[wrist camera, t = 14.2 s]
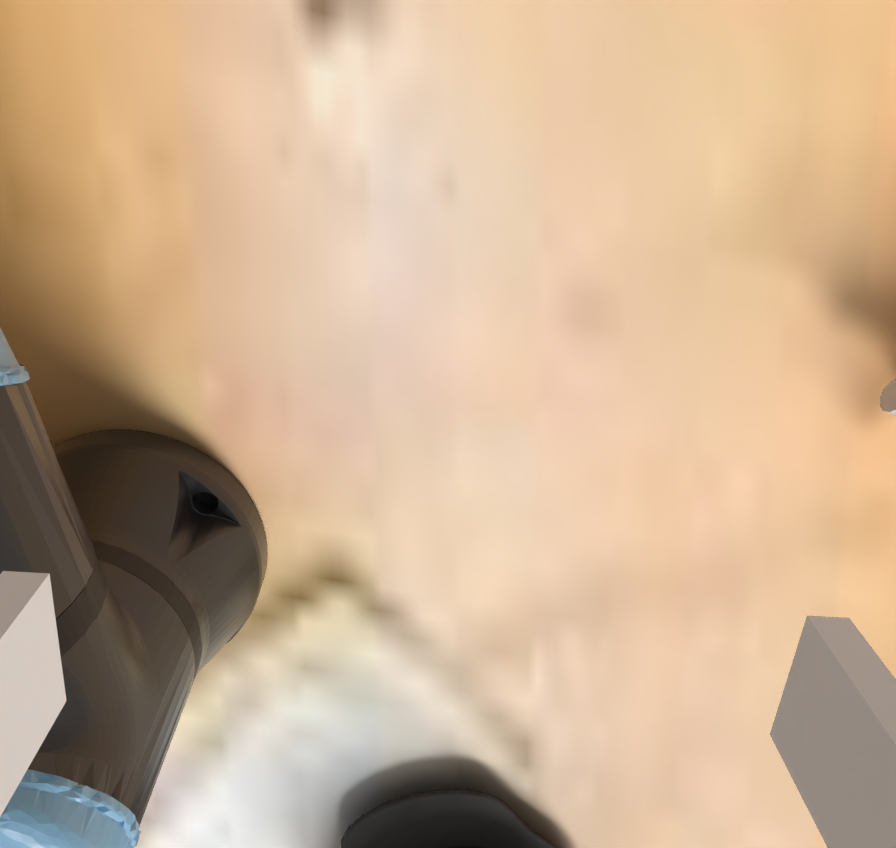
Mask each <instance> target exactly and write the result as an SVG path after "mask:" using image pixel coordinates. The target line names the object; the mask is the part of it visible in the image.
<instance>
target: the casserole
mask: <svg viewBox="0 0 896 848" xmlns="http://www.w3.org/2000/svg"><path fill="white" fill-rule="evenodd" d="M341 844H342V848H557V847H556V846H554V845H553V844H551V843H550V842H548V841H547V840H545V839H544V838H542V837H541V836H540V835H538V834H537V833H535V832H534V831H532V830H531V829H529V828H528V827H527V825H526V824H525V823H524V822H523V821H522V820H521V819H520V818H519V817H518V816H517V815H516V814H515V813H514V812H513V811H512V810H511V809H510V808H509V807H508V806H507V805H506V804H505V803H504V802H503V801H502V800H500V799H498V798H495V797H493V796H490V795H488V794H485V793H483V792H476V791H468V790H438V791H430V792H424V793H419V794H413V795H408V796H405V797H402V798H399V799H396V800H393V801H391V802H388V803H385V804H383V805H381V806H379V807H377V808H375V809H373V810H371V811H369V812H368V813H366V814H364V815H362V816H361V817H360V818H359V819H358V820H356V821H355V822H354V823H353V824H351V825H350V826H349V827H348V829H347V831H346V833H345V835H344V837H343V839H342V840H341Z"/></svg>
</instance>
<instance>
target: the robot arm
mask: <svg viewBox="0 0 896 848" xmlns="http://www.w3.org/2000/svg"><path fill="white" fill-rule="evenodd" d="M29 379H30V377H29V374H28V371H27V370H26V368H25V366H23V365H21V364H19V363H18V362H17V360H16V358H15V356H14V354H13V352H12V350H11V348H10V346H9V344H8V341H7V339H6V337H5V335H4V333H3V331H2V329H1V327H0V848H135V847H136V845H137V843H138V839H139V834H140V831H139V830H138V829H139V827H140V823H141V820H142V817H143V815H144V812H145V809H146V807H147V804H148V802H149V799H150V796H151V794H152V791H153V788H154V786H155V783H156V780H157V778H158V775H159V772H160V770H161V767H162V764H163V762H164V759H165V756H166V754H167V751H168V748H169V746H170V743H171V740H172V738H173V735H174V732H175V730H176V727H177V724H178V722H179V719H180V716H181V714H182V711H183V708H184V706H185V703H186V700H187V698H188V695H189V693H190V689H191V687H192V684H193V681H194V679H195V676H196V674H197V673H198V672H199V671H200V670H201V669H202V668H203V667H204V666H205V665H206V664H207V663H208V662H209V661H210V660H211V659H212V658H213V657H214V656H215V655H216V654H217V653H218V651H219V650H220V649H221V648H222V647H223V646H224V645H225V644H226V643H228V642H229V641H230V640H231V639H232V638H233V637H234V636H235V635H236V634H237V633H238V632H239V630H240V629H241V628H242V627H243V625H244V624H245V622H246V621H247V619H248V617H249V616H250V614H251V612H252V610H253V608H254V606H255V604H256V601H257V598H258V595H259V592H260V589H261V586H262V583H263V580H264V577H265V572H266V567H267V541H266V535H265V531H264V527H263V524H262V521H261V518H260V516H259V513H258V511H257V509H256V507H255V505H254V503H253V502H252V500H251V498H250V497H249V495H248V494H247V493H246V491H245V490H244V488H243V487H242V486H241V485H240V484H239V482H238V481H237V480H236V479H235V478H234V477H233V476H232V475H231V474H230V473H229V472H228V471H227V470H226V469H225V468H223V467H222V466H221V465H220V464H218V463H217V462H216V461H214V460H213V459H211V458H210V457H209V456H207V455H205V454H204V453H202V452H200V451H199V450H197V449H195V448H193V447H191V446H189V445H187V444H184V443H182V442H180V441H177V440H174V439H172V438H168V437H165V436H162V435H158V434H153V433H148V432H142V431H133V430H108V431H99V432H94V433H89V434H85V435H81V436H78V437H75V438H72V439H70V440H67V441H65V442H63V443H61V444H59V445H57V446H55V447H54V448H53V447H52V445H51V442H50V440H49V437H48V435H47V432H46V430H45V427H44V425H43V422H42V419H41V417H40V414H39V412H38V409H37V407H36V404H35V402H34V399H33V396H32V394H31V391H30V389H29V386H28V384H27V381H28V380H29ZM770 735H771V737H772V739H773V741H774V743H775V745H776V747H777V749H778V751H779V753H780V755H781V757H782V759H783V761H784V763H785V765H786V767H787V769H788V771H789V773H790V775H791V777H792V779H793V781H794V783H795V784H796V786H797V788H798V790H799V792H800V794H801V796H802V798H803V800H804V802H805V804H806V806H807V808H808V810H809V812H810V814H811V816H812V818H813V820H814V822H815V824H816V826H817V828H818V830H819V832H820V834H821V835H822V837H823V839H824V841H825V843H826V845H827V847H828V848H896V679H895V678H894V676H893V675H892V674H891V672H890V671H889V670H888V668H887V667H886V666H885V665H884V663H883V662H882V661H881V659H880V658H879V657H878V655H877V654H876V653H875V651H874V650H873V649H872V647H871V646H870V645H869V643H868V642H867V641H866V640H865V638H864V637H863V636H862V634H861V633H860V632H859V630H858V629H857V628H856V626H855V625H854V624H853V622H852V621H851V620H850V618H839V617H822V616H807V618H806V621H805V624H804V627H803V631H802V634H801V637H800V640H799V643H798V647H797V650H796V653H795V656H794V659H793V663H792V666H791V669H790V672H789V675H788V679H787V682H786V685H785V688H784V691H783V695H782V698H781V701H780V704H779V707H778V711H777V714H776V717H775V720H774V723H773V726H772V730H771V733H770Z"/></svg>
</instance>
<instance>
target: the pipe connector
mask: <svg viewBox="0 0 896 848" xmlns="http://www.w3.org/2000/svg"><path fill="white" fill-rule="evenodd" d="M880 406H881V408H882V410H883V411H885V412H887V413H890V414H892V415H895V416H896V379H895V380H893V381H891V382H890V383H889V384H888V385H887V386H886V387H885V388H884V390H883V392H882V395H881V397H880Z"/></svg>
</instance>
